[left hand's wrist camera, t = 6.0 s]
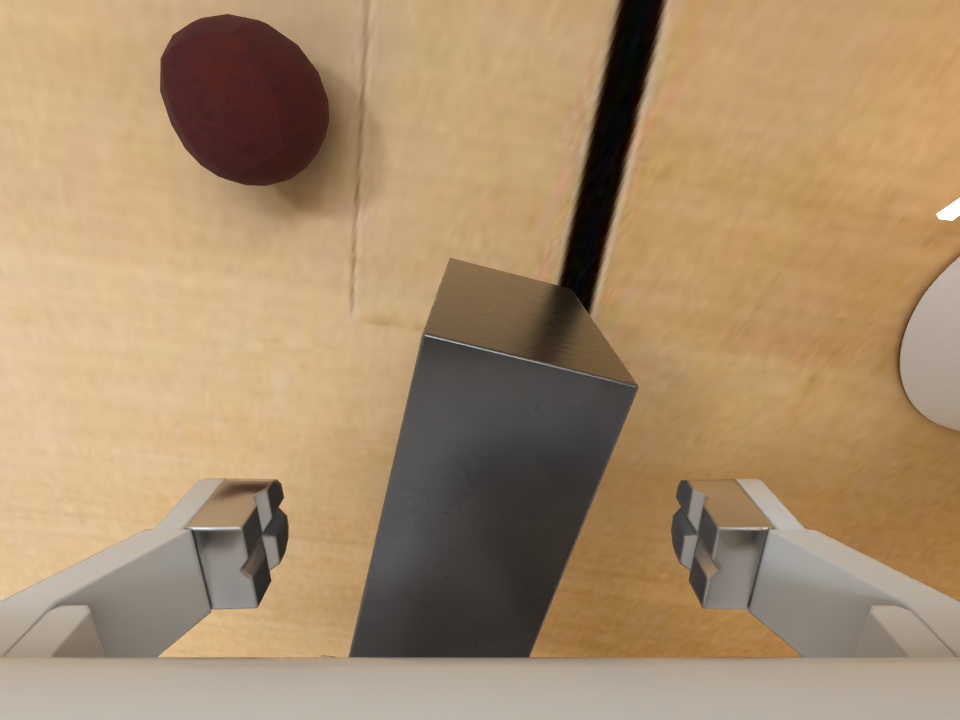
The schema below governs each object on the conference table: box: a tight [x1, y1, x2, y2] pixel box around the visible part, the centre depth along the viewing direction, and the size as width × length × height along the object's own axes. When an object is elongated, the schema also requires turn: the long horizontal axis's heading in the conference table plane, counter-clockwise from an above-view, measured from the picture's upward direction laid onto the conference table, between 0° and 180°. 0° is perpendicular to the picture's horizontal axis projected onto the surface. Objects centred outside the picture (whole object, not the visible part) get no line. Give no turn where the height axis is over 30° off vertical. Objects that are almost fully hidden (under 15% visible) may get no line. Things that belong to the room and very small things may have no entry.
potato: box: [160, 14, 329, 186], centre depth 25 cm, size 7×8×7 cm
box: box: [349, 258, 638, 658], centre depth 23 cm, size 23×6×12 cm, turn 166°
